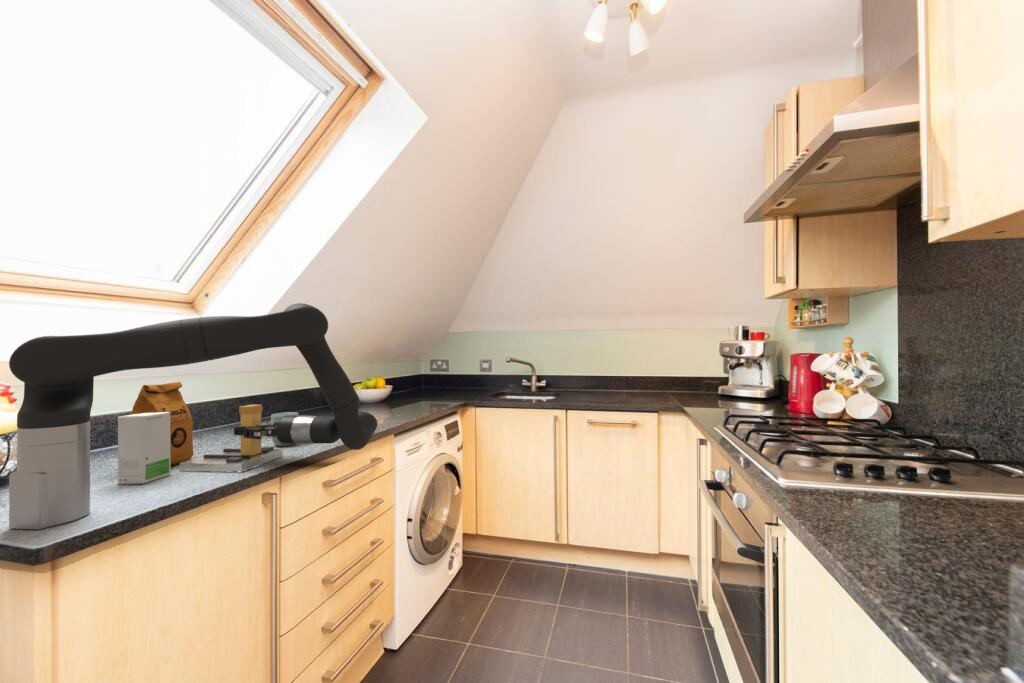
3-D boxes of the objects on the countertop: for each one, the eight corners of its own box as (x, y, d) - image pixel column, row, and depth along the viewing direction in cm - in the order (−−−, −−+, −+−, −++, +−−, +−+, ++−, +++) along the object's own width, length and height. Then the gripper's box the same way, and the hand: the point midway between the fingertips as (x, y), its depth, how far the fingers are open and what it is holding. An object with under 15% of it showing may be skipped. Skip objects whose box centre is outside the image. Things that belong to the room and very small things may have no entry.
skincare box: (143, 484, 100) (143, 416, 100) (114, 484, 100) (114, 416, 100) (172, 474, 108) (172, 411, 108) (146, 474, 108) (146, 411, 108)
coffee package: (199, 460, 122) (199, 381, 122) (156, 472, 110) (156, 384, 110) (169, 458, 124) (169, 381, 124) (123, 471, 111) (123, 384, 112)
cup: (279, 449, 134) (279, 416, 134) (266, 446, 138) (266, 414, 139) (303, 444, 141) (303, 413, 141) (290, 441, 145) (290, 411, 145)
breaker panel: (241, 472, 109) (241, 461, 109) (179, 471, 111) (179, 460, 111) (282, 456, 125) (282, 446, 125) (227, 455, 126) (227, 445, 127)
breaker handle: (251, 455, 116) (251, 406, 116) (239, 455, 116) (239, 406, 116) (262, 451, 120) (262, 404, 120) (251, 451, 121) (250, 404, 121)
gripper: (315, 411, 124) (259, 411, 126) (284, 420, 110) (221, 419, 112) (315, 438, 124) (259, 437, 126) (284, 450, 110) (221, 449, 111)
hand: (241, 429), depth 119 cm, fingers open, 4 cm apart
